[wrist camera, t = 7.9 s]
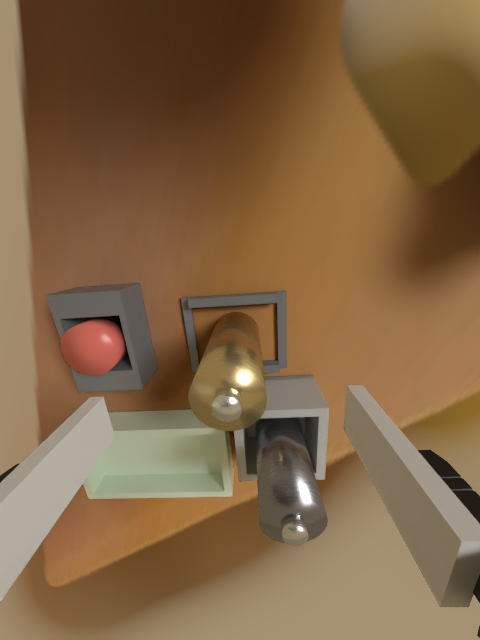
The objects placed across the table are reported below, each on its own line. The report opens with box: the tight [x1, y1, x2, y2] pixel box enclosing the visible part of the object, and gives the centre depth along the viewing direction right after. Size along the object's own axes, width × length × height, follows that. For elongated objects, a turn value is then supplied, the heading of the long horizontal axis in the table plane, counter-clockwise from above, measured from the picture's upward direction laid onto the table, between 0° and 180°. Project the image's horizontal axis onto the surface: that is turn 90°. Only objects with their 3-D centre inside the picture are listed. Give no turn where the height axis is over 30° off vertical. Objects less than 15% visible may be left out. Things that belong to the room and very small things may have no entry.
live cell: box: [189, 312, 267, 431], centre depth 17 cm, size 4×4×11 cm
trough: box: [83, 409, 234, 499], centre depth 26 cm, size 10×17×3 cm, turn 94°
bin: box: [234, 375, 329, 481], centre depth 22 cm, size 8×8×5 cm
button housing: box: [45, 283, 157, 392], centre depth 21 cm, size 9×7×4 cm
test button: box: [60, 318, 128, 376], centre depth 19 cm, size 4×4×2 cm
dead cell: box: [255, 417, 327, 546], centre depth 19 cm, size 4×4×11 cm
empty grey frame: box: [181, 291, 287, 373], centre depth 22 cm, size 8×10×1 cm
